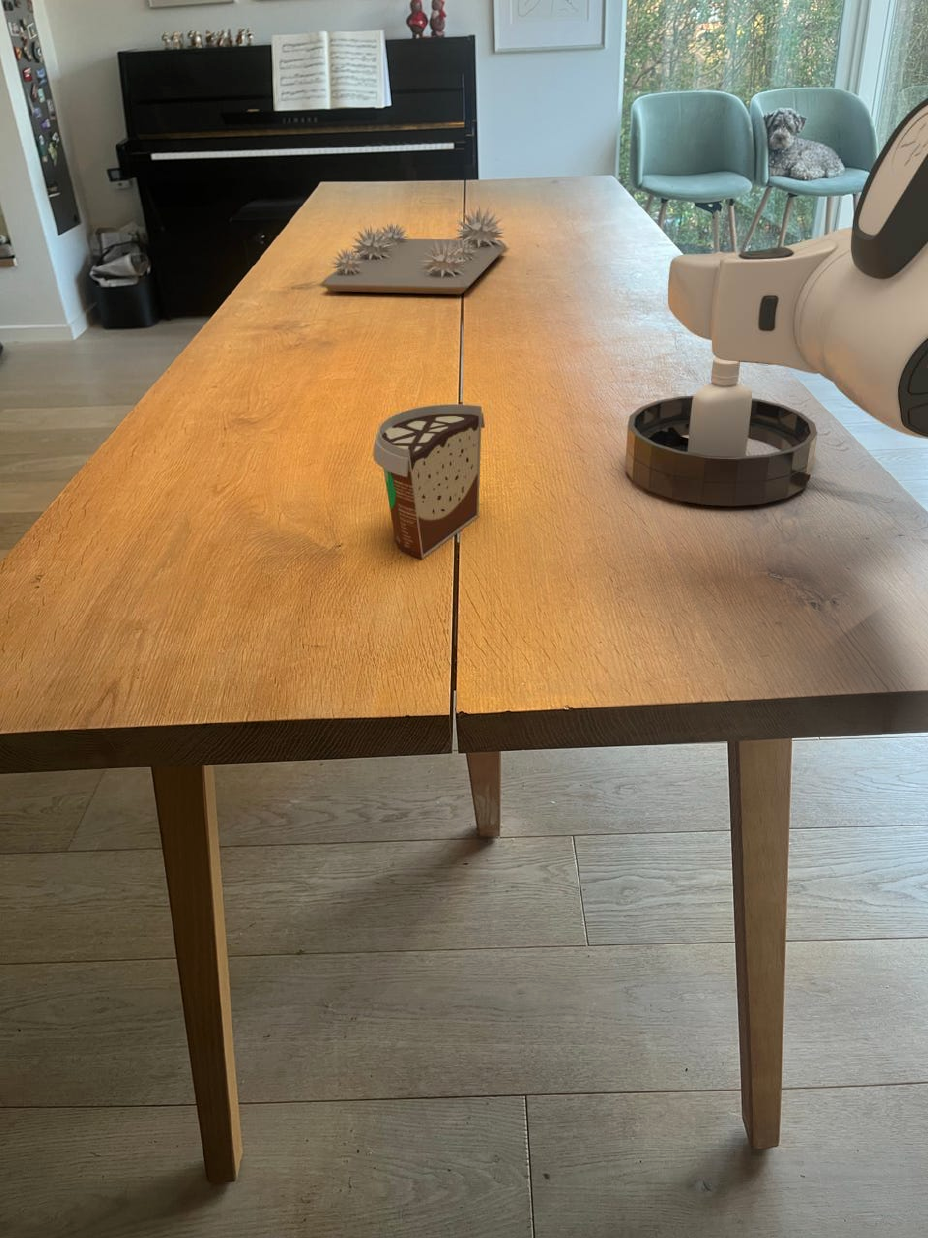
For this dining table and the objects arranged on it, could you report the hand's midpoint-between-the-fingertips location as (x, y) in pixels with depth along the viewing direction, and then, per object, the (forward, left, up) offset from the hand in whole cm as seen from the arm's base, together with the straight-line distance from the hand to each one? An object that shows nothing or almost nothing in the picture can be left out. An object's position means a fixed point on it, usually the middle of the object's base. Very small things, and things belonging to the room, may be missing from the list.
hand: (784, 259), depth 75 cm
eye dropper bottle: (+9, -7, -22) cm, 24 cm away
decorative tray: (+100, -47, -22) cm, 112 cm away
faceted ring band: (+9, -7, -22) cm, 25 cm away
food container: (+20, +21, -22) cm, 36 cm away
